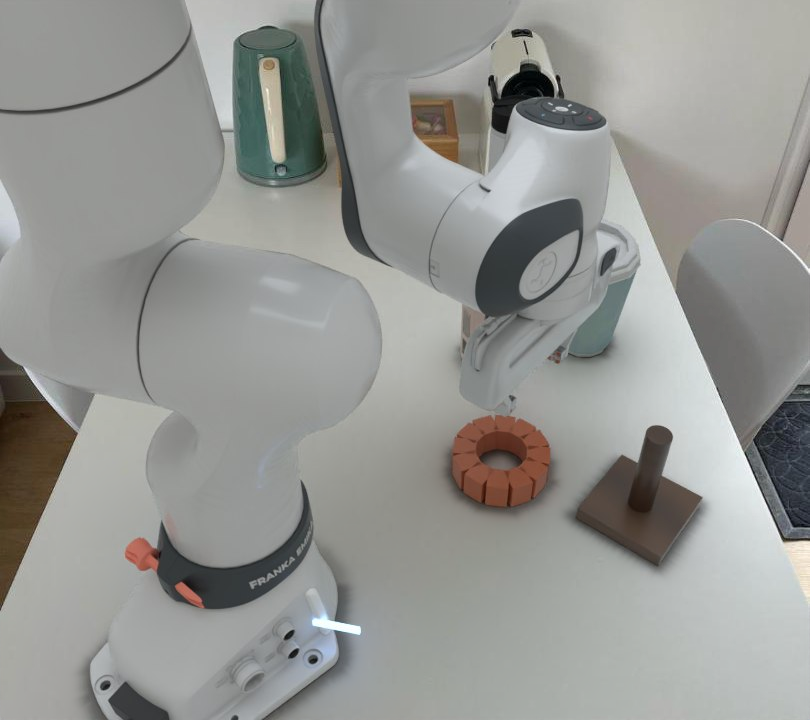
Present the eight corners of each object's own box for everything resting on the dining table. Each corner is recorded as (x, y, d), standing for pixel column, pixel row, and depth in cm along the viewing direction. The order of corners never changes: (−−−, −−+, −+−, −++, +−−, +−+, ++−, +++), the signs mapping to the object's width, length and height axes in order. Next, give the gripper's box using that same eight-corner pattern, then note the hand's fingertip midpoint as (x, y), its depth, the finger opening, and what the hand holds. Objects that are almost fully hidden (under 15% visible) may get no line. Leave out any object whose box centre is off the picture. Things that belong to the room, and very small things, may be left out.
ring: (512, 523, 81) (514, 504, 79) (433, 474, 85) (433, 455, 83) (565, 463, 86) (568, 444, 84) (488, 420, 91) (489, 401, 89)
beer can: (496, 372, 97) (502, 292, 89) (457, 367, 98) (459, 288, 89) (501, 346, 100) (507, 267, 92) (463, 341, 101) (466, 263, 93)
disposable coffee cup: (636, 364, 97) (659, 262, 87) (549, 375, 96) (562, 273, 86) (606, 309, 105) (625, 210, 95) (525, 319, 104) (536, 219, 94)
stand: (658, 566, 77) (683, 489, 69) (575, 517, 81) (590, 440, 73) (699, 506, 82) (727, 428, 74) (619, 463, 86) (638, 385, 78)
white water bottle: (532, 242, 117) (545, 111, 103) (486, 242, 117) (493, 111, 103) (527, 218, 121) (540, 90, 108) (483, 219, 122) (490, 90, 108)
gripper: (504, 352, 65) (496, 461, 75) (630, 235, 76) (609, 343, 86) (443, 320, 68) (442, 429, 78) (572, 212, 79) (558, 319, 89)
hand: (530, 383), depth 82 cm, fingers open, 8 cm apart
